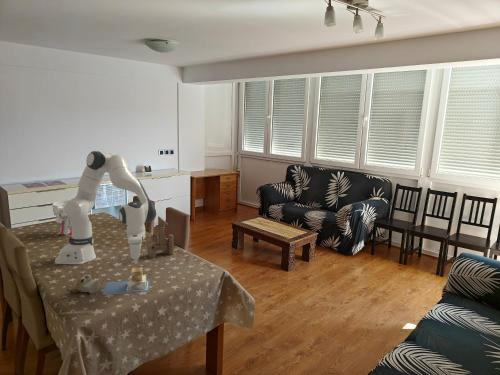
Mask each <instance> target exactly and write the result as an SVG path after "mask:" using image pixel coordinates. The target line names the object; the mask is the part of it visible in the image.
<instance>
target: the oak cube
mask: <svg viewBox="0 0 500 375" xmlns="http://www.w3.org/2000/svg"><path fill="white" fill-rule="evenodd" d="M130 273H131V274H130V276H132V281H142V277H143V275H144V274H143V267H142V266H140V267H132V268H131V272H130Z"/></svg>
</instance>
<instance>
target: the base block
mask: <svg viewBox="0 0 500 375" xmlns="http://www.w3.org/2000/svg"><path fill="white" fill-rule="evenodd" d="M146 280H147V275H146V274H143V277H142V281H132V276H131V275H130V276H129V280H128V281H129V283H128V284H129V290H142V289H145V288H146Z"/></svg>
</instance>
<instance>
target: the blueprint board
mask: <svg viewBox="0 0 500 375" xmlns="http://www.w3.org/2000/svg"><path fill="white" fill-rule="evenodd" d="M128 283H129V280H122V281H107V282H106V283H105V285H104V289H103V292H102V294H101V295H102V296H109V295H110V296H111V295H123V294H137V293H139V294H140V293H150V288H151V286H150V285H151V279H146V288H145V289H142V290H129V284H128Z"/></svg>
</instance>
